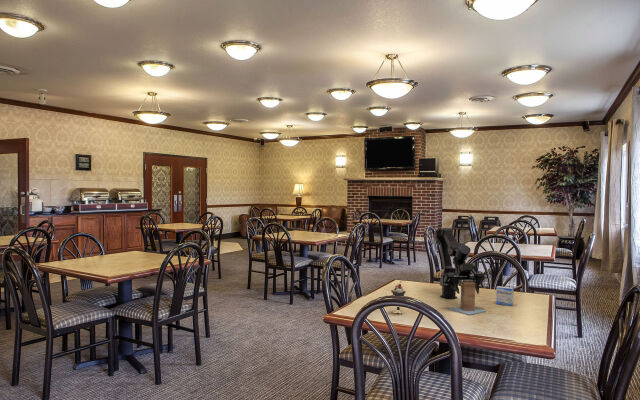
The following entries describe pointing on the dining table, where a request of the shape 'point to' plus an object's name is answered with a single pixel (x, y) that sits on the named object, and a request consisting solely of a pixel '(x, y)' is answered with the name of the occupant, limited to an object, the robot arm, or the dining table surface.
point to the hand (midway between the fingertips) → (468, 293)
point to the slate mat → (458, 309)
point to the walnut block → (467, 295)
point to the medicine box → (504, 295)
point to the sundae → (398, 292)
